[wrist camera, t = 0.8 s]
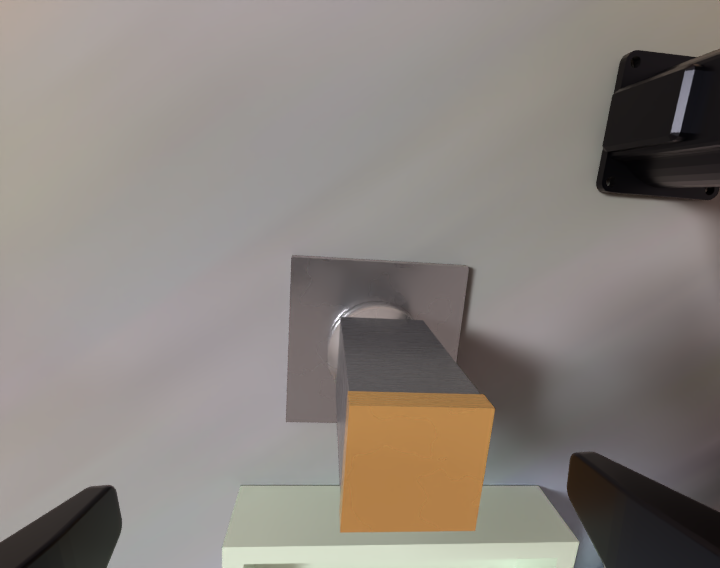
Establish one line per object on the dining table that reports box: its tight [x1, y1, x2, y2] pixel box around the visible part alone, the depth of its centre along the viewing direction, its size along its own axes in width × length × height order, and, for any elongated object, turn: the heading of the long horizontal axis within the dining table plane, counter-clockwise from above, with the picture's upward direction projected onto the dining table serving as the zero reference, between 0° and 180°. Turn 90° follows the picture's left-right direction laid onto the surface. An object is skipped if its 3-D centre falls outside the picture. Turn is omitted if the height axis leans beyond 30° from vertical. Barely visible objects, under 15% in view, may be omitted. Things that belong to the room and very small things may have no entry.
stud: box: [286, 255, 469, 423], centre depth 20 cm, size 9×9×2 cm
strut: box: [336, 317, 495, 533], centre depth 15 cm, size 4×4×8 cm
